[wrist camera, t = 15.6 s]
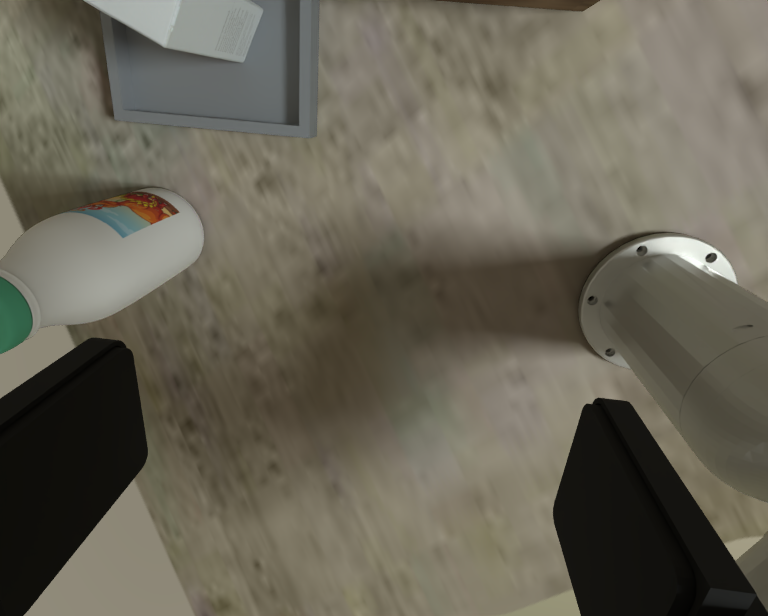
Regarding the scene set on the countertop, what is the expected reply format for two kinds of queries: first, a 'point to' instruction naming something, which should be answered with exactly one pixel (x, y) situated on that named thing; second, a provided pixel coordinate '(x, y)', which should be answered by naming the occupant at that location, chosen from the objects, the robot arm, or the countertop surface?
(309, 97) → the grey tray
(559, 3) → the walnut bin
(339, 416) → the countertop surface
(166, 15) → the skincare box
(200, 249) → the milk bottle
